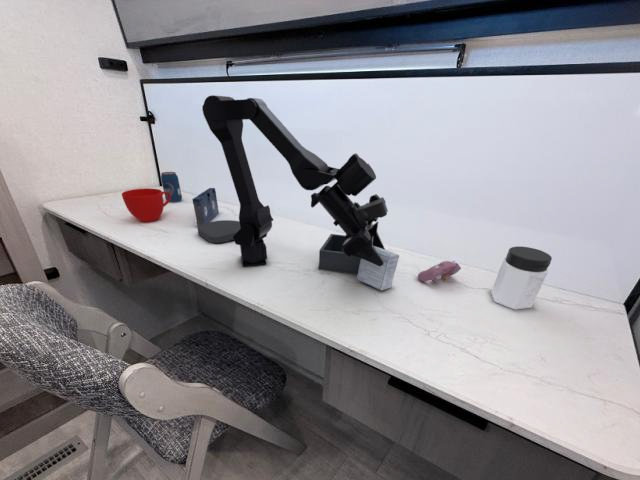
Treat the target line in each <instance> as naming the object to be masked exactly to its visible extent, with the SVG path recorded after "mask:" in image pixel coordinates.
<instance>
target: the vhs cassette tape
mask: <svg viewBox="0 0 640 480" xmlns="http://www.w3.org/2000/svg"><path fill="white" fill-rule="evenodd" d="M192 205H193V210H194V215H195V220H196V224H197V228H198V227H199V226H201V225H203V224H206V223H209V222H212V221H213V220H214V219H215V218H216V217H217V216H218V215H219V213H220V211H219V205H218V198H217V191H216V188H215V187H208V188H207V189H206V190H204V191H202V192H201V193H199V194H198V195H197V196H194V198H192Z"/></svg>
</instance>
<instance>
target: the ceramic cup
mask: <svg viewBox="0 0 640 480" xmlns="http://www.w3.org/2000/svg"><path fill="white" fill-rule="evenodd" d="M164 193H167V195H168V198H167V200H166V201H165V202H164V196H163V195H165V194H164ZM121 197H122V200H123V203H124V205H125V207H126V209H127V210H128V212H129V213H130V215H132V216H133V218H135V219H136V220H138V221H139V222H141V223H152V222H156V221H158V220H160V218H161V216H162V214H163V212H164V207H166V206H167V205H168V204H169V203H170V202H169V201H170V194H169V193H168V192H167V191H164V190H163V191H162V190H161V189H159V188H150V187H149V188H135V189H128V190H125V191H123V192H122V193H121Z"/></svg>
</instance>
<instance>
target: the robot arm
mask: <svg viewBox="0 0 640 480" xmlns="http://www.w3.org/2000/svg"><path fill="white" fill-rule="evenodd" d="M201 107H202V108H201V109H202V114H203V117H204V119H205V121H206V123H207V126H208V128H209V130H210V131H211V134H213V135H214V136H215V138H216V139H217V140H218V141H219V143H220V145H221V147H222V151H223V155H224V157H225V161H226V164H227V167H228V171H229V174H230V177H231V180H232V183H233V187H234V190H235V193H236V195H237V199H238V202H239V212H238V213H239V214H238V221H239V222H240V228H241V229H240V230H239V231H238V232H237V233H236V234H235V235H234V236H233V239H234V240H233V241H234V244H235V245H237V246H239V248H240V249H239V250H240V261H241V265H242V267H243V268H244V267H245V268H246V267H252V266H253V267H255V266H263V265H264V266H265V265H267V260H268V253H267V252H268V251H267V245H266V243H265V242H264V238H267V236H268V233H269V232H270V231H271V229H272V228H273V222H274V218H273V216H272V214H271V207H270V206H269V205H265V206H264V204H263V203H262V202H261V201H260V198H259V195H258V192H257V188H256V185H255V181H254V178H253V174H252V172H251V168H250V164H249V160H248V158H247V153H246V150H245V147H244V143H243V129H244V121H245V120H246V121H247V120H249V121H251V123H252V124H253V125H254V126H255V127H256V128H257V129H258V130H259V132H260V133H261V134H262V135H263V136H264V137H265V138H266V139H267V141H268V142H269V143H270V144H271V145H272V146H273V147H274V148H275V149H276V151H278V153H279V154H280V155H281V156H282V157H283V159H285V160H286V162H287V164H288V165H289V168H290V171H291V173H292V175H293V176H294V178H295V179H296V181H297V182H298V185H300V187H301V188H302V189H303V190H306V191H315V190H317V189H320V188H321V187H322V189H321V190H320V191H319V192H313V193H312V194H311V195H310V199H311V201H310V207H311V208H315V206H317V205H318V204H320V205H321V206H322V207H323V209H324V210H325V211H326V212H327V213H328V214H329V216H330V217H331V218H332V219H333V220H334V221H333V226H335V227H337V226H339V227H340V229H341V230H342V232H344V233H345V234H344V235H345V238H346V239H347V240H346V241H345V242H344V244H343V246H342V252H343V253H344V254H345V255H346V256H347V258H348V257H350V256H356V257H358V258H361V259H364V260H366V261H368V262H371V263H373V264H375V265H378V266H382V265H383V264H384V263H383V261H382V259H381V258H380V256H379V254H378V253H377V251H376V250H375V248H374V246H376V247H379V248H382V249H385V250H386V248H385V246H384V243H383V242H382V239H381V238H380V234H379V231H378V228H379V221H378V219H379V218H384V217H386V216H387V215H388V212H389V211H388V207H387V204H386V199H385V198H384V197H383V196H381V197H380V196H379V195H378V194H377V193H376V194H373V195H370V197H369V199H368V202H366V203H364V204H363V205H361V204H359V202H356V201H352V200H351V198H350V197H349V196H353V197H356V196H358V195H360V193H362V191H364V190H365V189H366V188H367V187H369V185H370V184H372V183H373V182H374V181H375V180H376V179H377V175H376V173H375V171H374V169H373V168H372V166H371V165H370V164H369V163H367V161H365V160H364V159H363V158H362V157H361V156H359V154H358V153H353V154H351V156H350V157H349V158H348V160H347V161H346V162H345V163H344V164H342V166H341V167H340V168H336V167H333V166H329V165H328V164H327V163H326V161H324V160H323V159H322V158H321V157H319V156H318V155H317V154H316V153H314V152H312V151H310V150H308V149H307V148H305V147H304V146H303V145H302V144H301V143H300V142H299V141H298V139H297V138H295V136H294V135H293V134H292V133H291V132H290V130H289V129H288V128H287V127H286V126H285V125H284V124H283V122H281V120H279V118H278V117H277V115H275V114H274V112H273V111H272V110H271V109H270V108H269V107H268V105H267V103H266V102H265V101H264V100H263V99H261V98H258V97H257V98H256V97H248V98H244V99H235V98H234V97H231V96H226V95H225V96H224V95H215V94H213V95H209V96H207V97H206V98H205V99H204V102H203V105H202V106H201ZM334 181H336V182H335V183H333V185H332V186H330V185H329V184H330V183H332V182H334ZM323 186H324V187H323ZM373 222H375V223H373Z"/></svg>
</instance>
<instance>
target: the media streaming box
mask: <svg viewBox="0 0 640 480" xmlns="http://www.w3.org/2000/svg"><path fill="white" fill-rule="evenodd" d="M240 229H241V228H240V222H239V220H231V219H230V220H229V219H227V220H225V219H223V220H215V221H210V222H209V223H206V224H203V225H201V226H199V227H198V226H197V233H198V236H200V237H202V238H203V239H204V240H206V241H207V242H209V243H213V244H219V243H227V242H231V241H234V239H233V236H234V235H235V234H236V233H237V232H238V231H239V230H240Z"/></svg>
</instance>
